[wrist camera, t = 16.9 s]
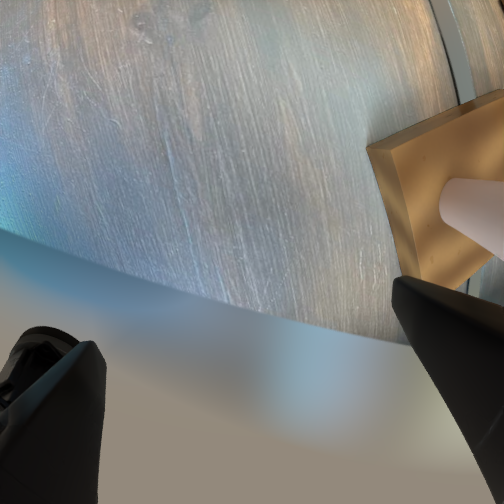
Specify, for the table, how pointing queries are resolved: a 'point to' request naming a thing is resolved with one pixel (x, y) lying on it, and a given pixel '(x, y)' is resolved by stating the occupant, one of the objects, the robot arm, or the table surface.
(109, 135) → the table surface
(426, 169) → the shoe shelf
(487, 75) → the table surface
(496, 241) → the smoothie
